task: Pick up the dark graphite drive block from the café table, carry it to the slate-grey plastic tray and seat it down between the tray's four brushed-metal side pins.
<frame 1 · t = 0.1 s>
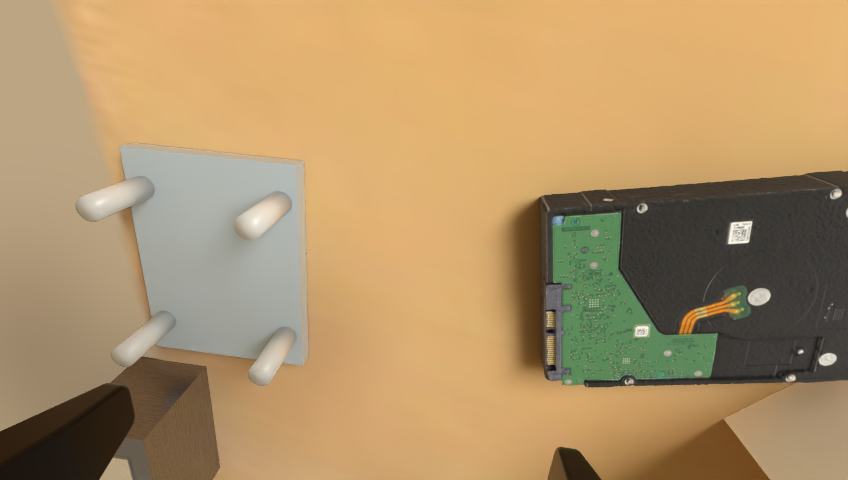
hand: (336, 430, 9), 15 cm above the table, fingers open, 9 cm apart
disk drive: (681, 272, 23), on the table
tray: (228, 257, 25), on the table
drive block: (182, 414, 30), on the table
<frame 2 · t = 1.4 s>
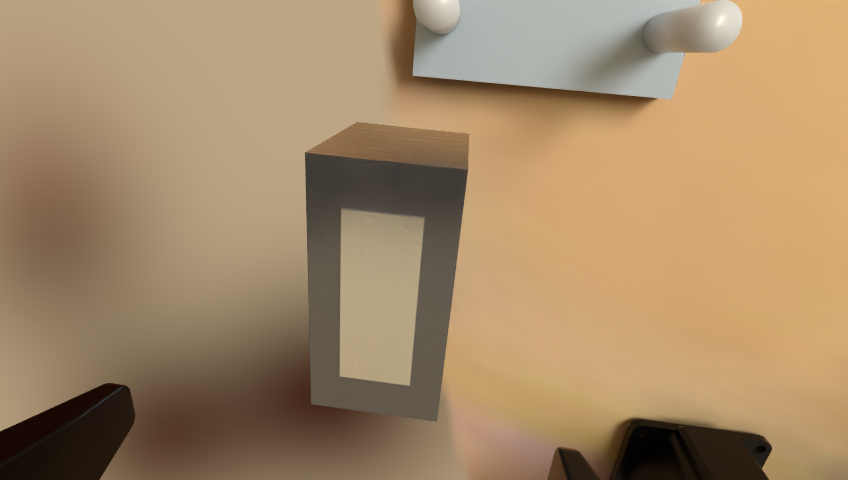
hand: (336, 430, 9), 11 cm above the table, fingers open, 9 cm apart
drive block: (405, 232, 19), on the table
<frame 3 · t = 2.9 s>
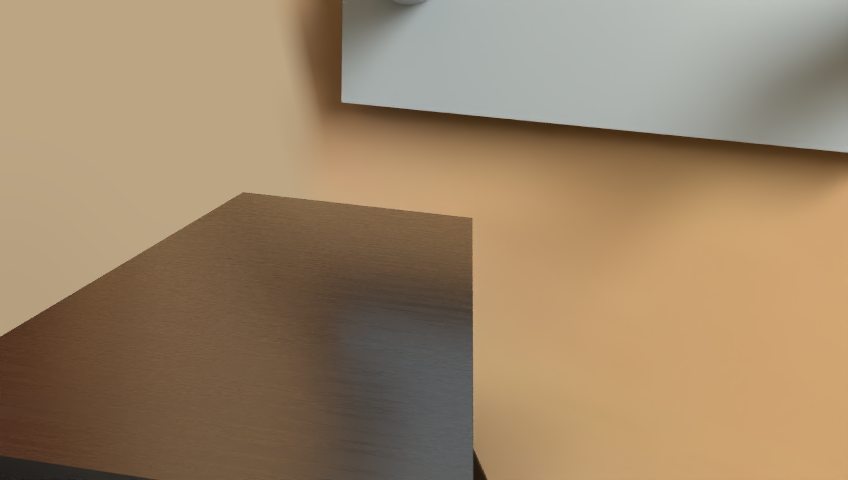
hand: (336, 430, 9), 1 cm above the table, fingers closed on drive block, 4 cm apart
drive block: (351, 388, 10), on the table, touching gripper
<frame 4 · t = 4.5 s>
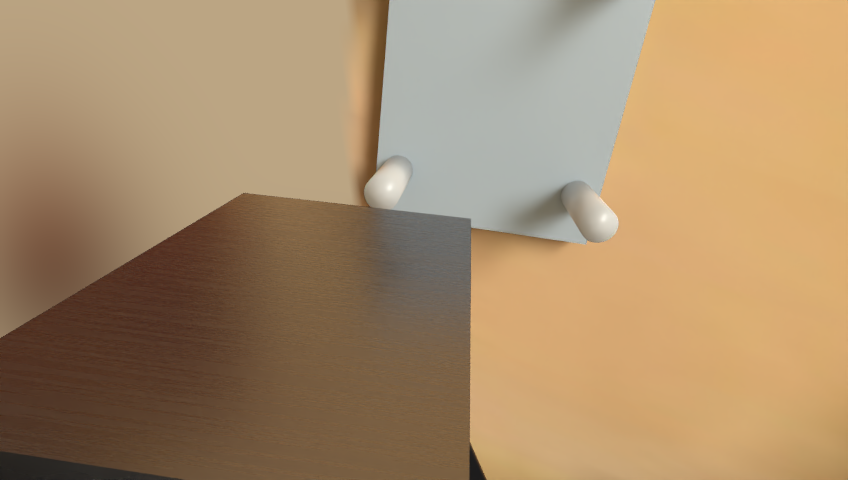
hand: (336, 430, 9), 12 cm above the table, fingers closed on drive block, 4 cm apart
tray: (503, 76, 17), on the table
drive block: (351, 387, 10), point 10 cm above the table, touching gripper
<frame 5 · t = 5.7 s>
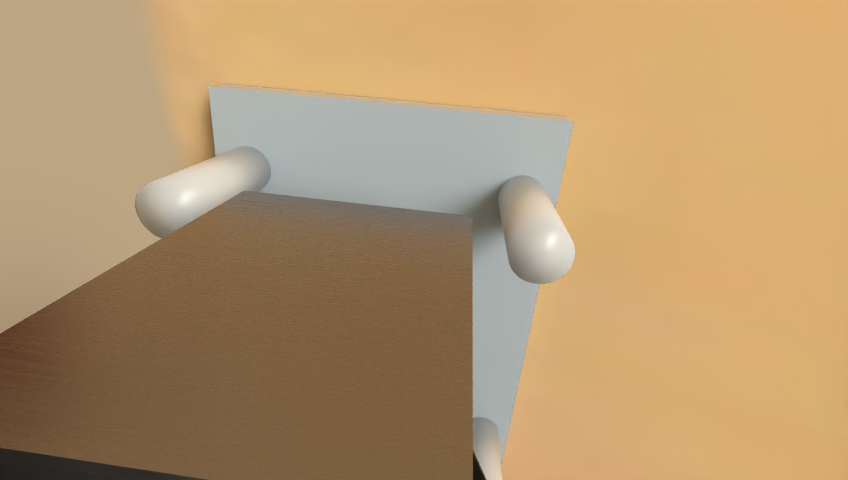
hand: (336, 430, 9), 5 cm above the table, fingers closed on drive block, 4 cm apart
tray: (382, 296, 14), on the table
drive block: (351, 386, 10), point 4 cm above the table, touching gripper
when the fingers open (3 cm above the table, at t = 6.4 s): drive block drops 1 cm, resting on tray.
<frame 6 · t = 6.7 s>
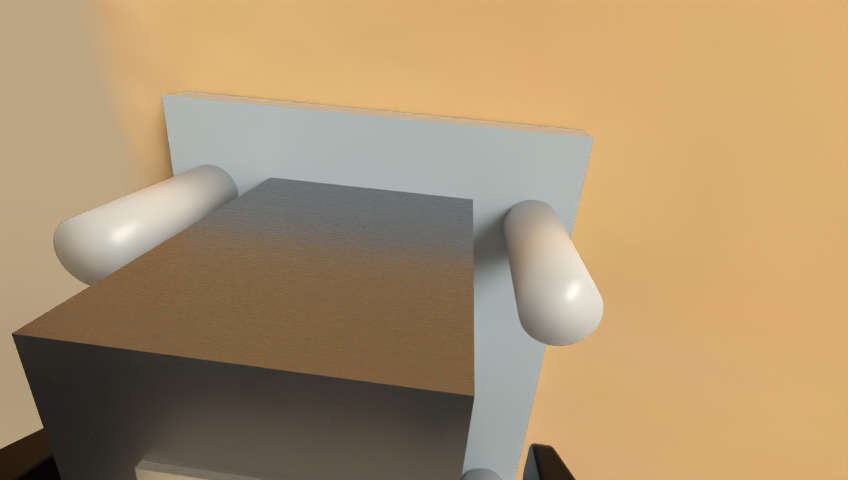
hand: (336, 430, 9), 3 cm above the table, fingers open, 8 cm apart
tray: (371, 331, 12), on the table
drive block: (364, 355, 11), point 1 cm above the table, touching tray
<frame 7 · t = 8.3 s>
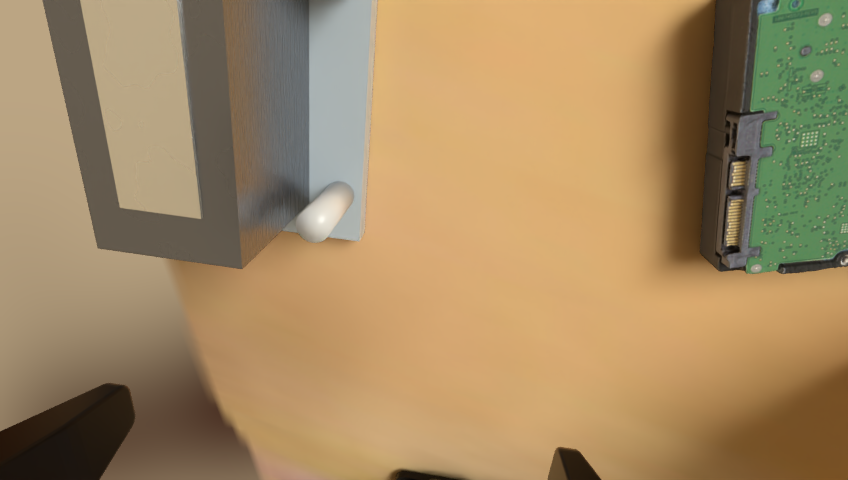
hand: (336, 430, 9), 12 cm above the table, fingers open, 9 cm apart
tray: (262, 81, 18), on the table
drive block: (251, 84, 17), point 1 cm above the table, touching tray
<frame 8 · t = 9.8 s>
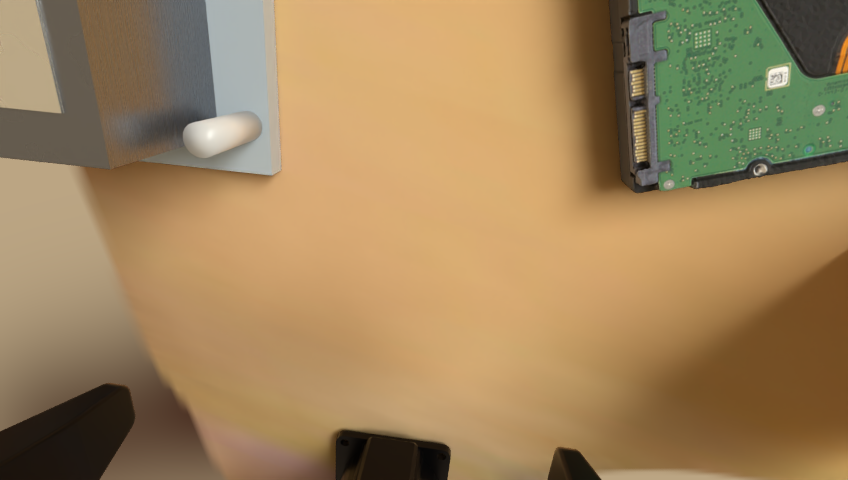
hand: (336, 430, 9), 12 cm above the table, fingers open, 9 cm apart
disk drive: (816, 8, 16), on the table
tray: (165, 11, 18), on the table
drive block: (149, 10, 17), point 1 cm above the table, touching tray
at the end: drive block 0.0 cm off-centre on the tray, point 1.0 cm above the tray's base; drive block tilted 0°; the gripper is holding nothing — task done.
